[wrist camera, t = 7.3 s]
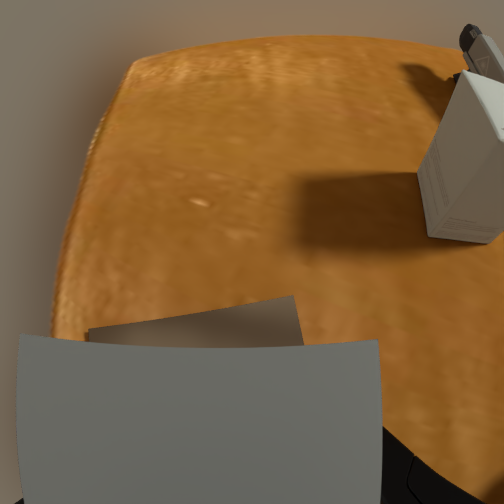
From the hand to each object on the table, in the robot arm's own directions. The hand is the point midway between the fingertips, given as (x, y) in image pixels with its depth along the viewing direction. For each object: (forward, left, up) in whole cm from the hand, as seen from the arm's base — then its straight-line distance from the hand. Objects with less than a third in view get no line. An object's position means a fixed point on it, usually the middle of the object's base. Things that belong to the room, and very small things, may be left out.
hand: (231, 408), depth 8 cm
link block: (-1, 0, -6) cm, 7 cm away
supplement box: (+11, -21, -14) cm, 27 cm away
